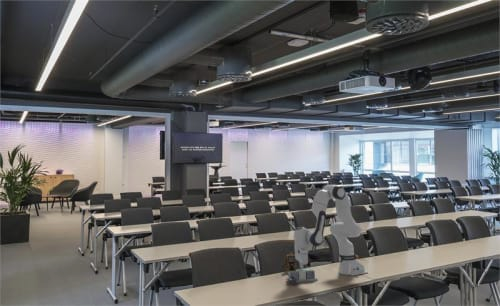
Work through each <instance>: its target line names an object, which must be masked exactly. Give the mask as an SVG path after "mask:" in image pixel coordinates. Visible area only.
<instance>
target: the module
mask: <svg viewBox="0 0 500 306" xmlns="http://www.w3.org/2000/svg"><path fill="white" fill-rule="evenodd" d="M306 270H307V269H305V268H300V269H299V268H296V271H297V272H298V277H299V280H304V279H306Z"/></svg>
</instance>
